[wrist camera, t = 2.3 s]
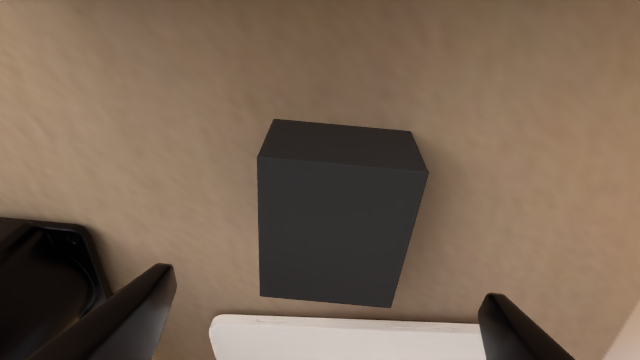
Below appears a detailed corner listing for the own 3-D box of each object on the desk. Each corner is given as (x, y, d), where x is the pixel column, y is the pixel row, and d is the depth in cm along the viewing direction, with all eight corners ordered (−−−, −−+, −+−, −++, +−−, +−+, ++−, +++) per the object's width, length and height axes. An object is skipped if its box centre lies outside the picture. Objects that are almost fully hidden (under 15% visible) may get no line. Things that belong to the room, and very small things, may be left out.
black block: (382, 253, 16) (391, 308, 13) (272, 243, 16) (259, 296, 13) (411, 130, 12) (429, 172, 10) (273, 118, 12) (256, 156, 10)
